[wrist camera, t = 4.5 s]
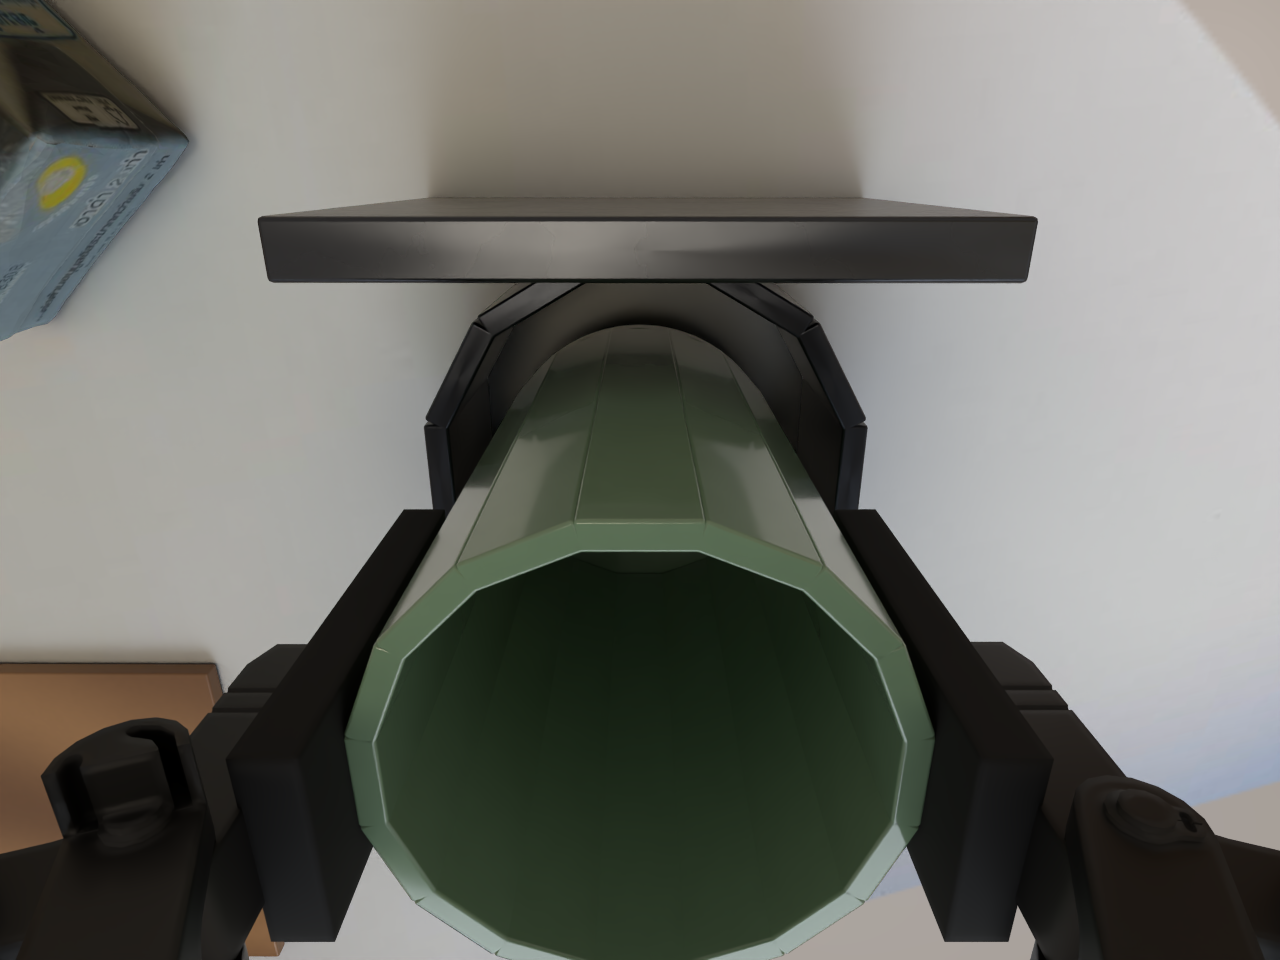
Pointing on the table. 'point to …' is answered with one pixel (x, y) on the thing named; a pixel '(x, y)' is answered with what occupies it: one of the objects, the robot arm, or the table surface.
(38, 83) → the beverage carton
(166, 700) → the cork tile
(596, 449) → the cup
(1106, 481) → the table surface
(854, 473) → the ring cup holder
